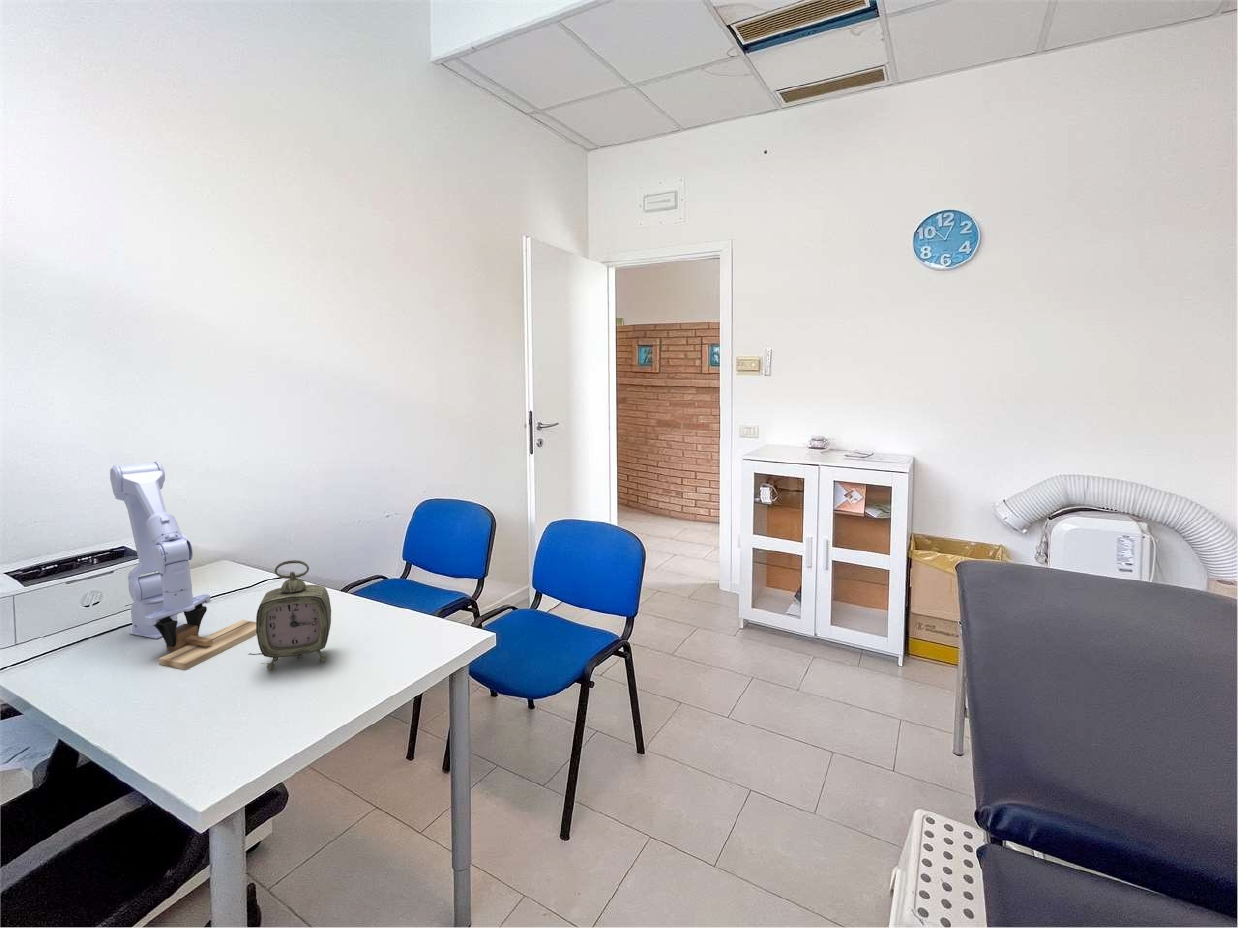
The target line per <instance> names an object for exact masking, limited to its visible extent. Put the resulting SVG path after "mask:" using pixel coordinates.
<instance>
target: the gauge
mask: <svg viewBox="0 0 1238 928" xmlns="http://www.w3.org/2000/svg"><path fill="white" fill-rule="evenodd" d="M182 624H183V625H181V626H178V627H176V646H174V647H170V646H167V645H166V644H165V646H166V652H168V653H172V652H174V651H176V650H178V649H181V648H183V647H185V646H187V645H189V644H195V645H201V646H209V645H211V644H213V643H212V639H210V638H204V636H199V635H200V634H199V633H198V626H196V625H190V624H187V623H182Z"/></svg>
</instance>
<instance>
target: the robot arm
mask: <svg viewBox="0 0 1238 928" xmlns="http://www.w3.org/2000/svg"><path fill="white" fill-rule="evenodd" d="M109 479H110V482H111V483H110V484H111V489H112V493H113V495H114V497H115V500H119V501H123V503H124V504H125V507H126V510H127V514H128V517H129V523H130V527H131V532H132V535H133V540H134V545H135V550H136V554H137V560H138V564H137V565H136V566H135V567H133V568H132V569H131V570H130V572H129V573H128V574H127V575H128V576H127V580H128V586H127V587H128V592H129V595H130V598H131V600H132V601H133V602H132V604H131V607H130V615H131V624H132V630H130V631H129V635H136V636H140V637H146V638H151V639H160V638H163V641H164V642H165V646H166V645H167V646H170V647H174V646H176V627H178V626H181V625H183V624H184V623H182V622H178V615H179V614H181V613H183V614H184V617H185V620H186V624H190V625H196V626H198V634H199V631H200V627H201V623H202V621H203V618H204V616H205V615H206V613H207V611H208V608H207V606H206V605H204V604H209V603H211V602H212V601H211V595H210V594H205V593H203V594H201V595H198V596H194V594H193V586H192V585H193V584H192V578H191V577H192V576H191V575H192V574H191V567H190V566H191V565H190V561H191V560H193V557H194V552H193V545H192V543H191V540H190V539H189V538H188V537H187V536H186V534H185V533H182V531H181V529H180V527H179V524H178V521H177V519H176V517H175V516H174V515H173V514H171V513H169V512H167V509H166V506H165V502H164V499H163V496H162V492H161V490H162V489H163V488H164V483H165V480H166V473H165V469H164V466H163V464H161V463H160V462H159V461H154V462H146V463H145V462H144V463H132V464H124V465H123V464H121V465H113V466H112V467H111V468H110V471H109ZM155 572H156V573H155Z"/></svg>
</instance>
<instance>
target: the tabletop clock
mask: <svg viewBox="0 0 1238 928" xmlns="http://www.w3.org/2000/svg"><path fill="white" fill-rule="evenodd" d="M290 564H299V565H300V564H301V565H303V566H305V568H306V570H305V571H304V572H302V573H299V574H296V572H295V571H290V572H289V575H285V574H284V575H283V574H280V573H278V570H279V568H281V567H282V566H284V565H290ZM309 570H310V567H309V564H308V563H306V562H305V561H303V560H297V559H293V560H291V559H290V560H287V561H283V562H281V563H279V564H278V565H276V567H275V568H274V574H275V575H276V576H277V577H278V578H281V579H287V580H285V581H283V583H282V585H281V587H278V588H275V589H271V590H270V591H267V592H265V595H264V596H263V598H262V600H261V602H260V604H259V606H258V609H257V611H256V612H257V613H256V619H255V622H256V633H257V635H256V637H257V643H258V647H259V650H260V653H262V654H263V655H262V656H263V657H266V658H271V659H272V660H271V662H268V663H269V664H266V670H268V671H273V670H274V669H275V668H276V664H275V662H276V661H275V660H276V658H278V659H279V658H290V657H297V658H302V657H303V656H304V655H309V654H314V653H317V654H318V656H319V658H318V661H319V663H322V664H323V663H325V662H326V661H327V656H326V655H325V654H324V655H323V654H322V652H321V650H323V649H325V647H326V645H327V643H328V638H329V634H330V629H331V625H332V624H331V623H332V608H331V600H330V596H329V593H328V590H327V588H326V587H325V586H324V585H320V584H306V583H305V581H304V580H303V579H300V578H301V577H303V576H306V575H307V574H308V573H309Z"/></svg>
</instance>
